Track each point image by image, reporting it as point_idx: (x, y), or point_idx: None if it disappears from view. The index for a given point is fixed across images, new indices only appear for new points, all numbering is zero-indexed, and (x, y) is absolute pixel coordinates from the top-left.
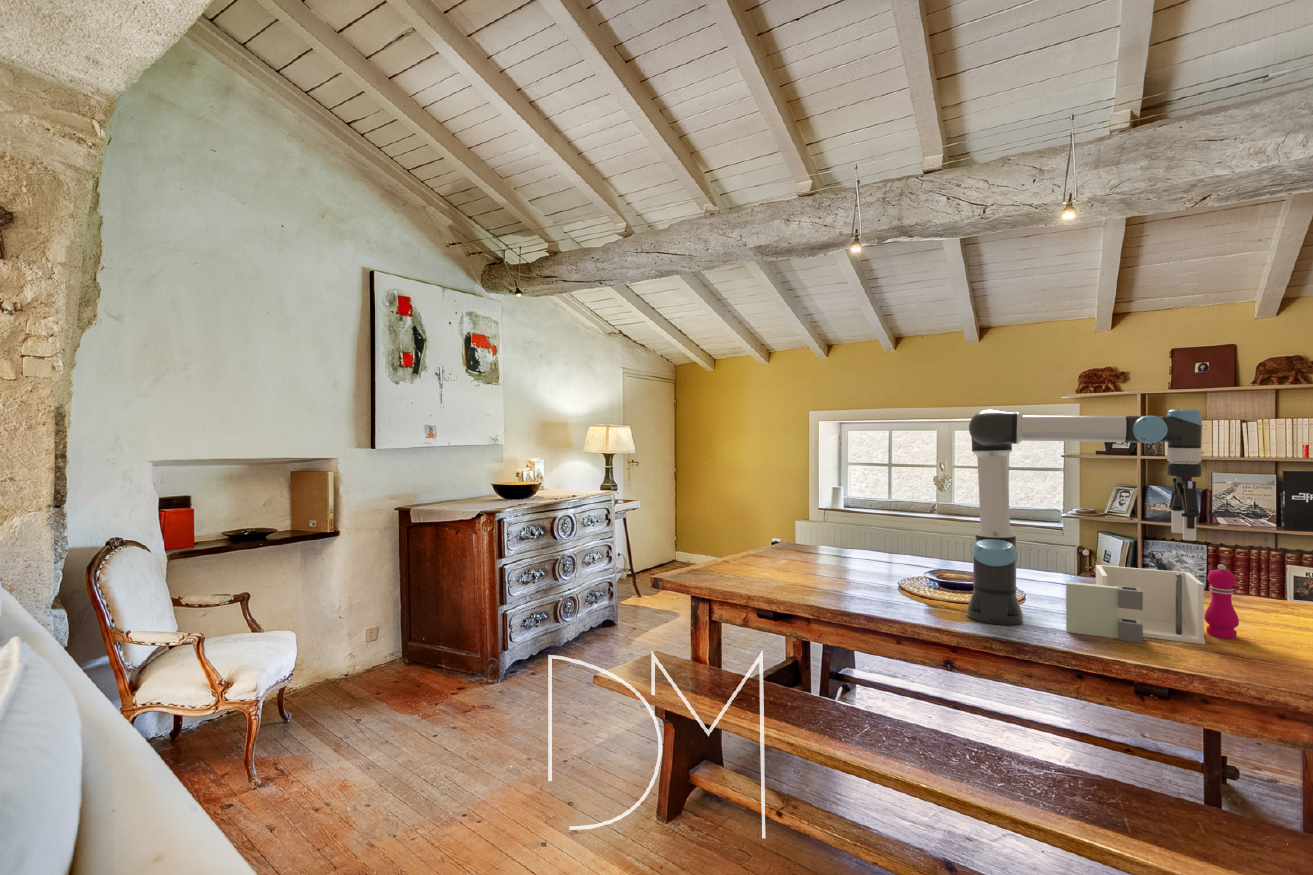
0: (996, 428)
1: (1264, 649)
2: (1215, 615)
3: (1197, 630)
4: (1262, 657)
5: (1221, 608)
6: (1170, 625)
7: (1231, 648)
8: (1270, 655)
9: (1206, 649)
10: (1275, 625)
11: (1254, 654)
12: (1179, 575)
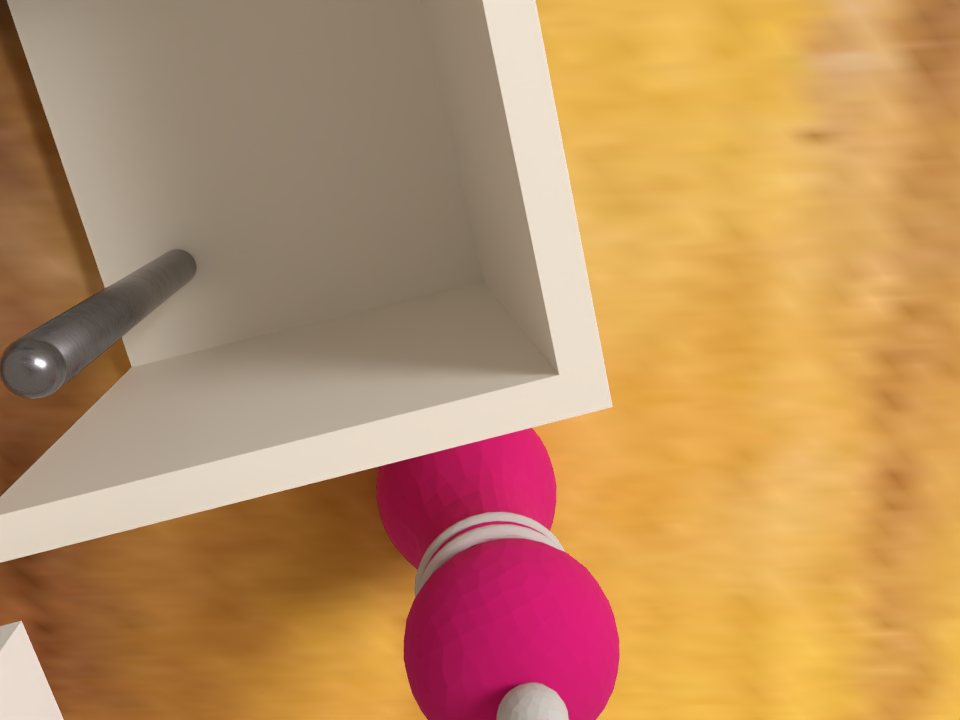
0: None
1: (291, 629)
2: (388, 479)
3: (131, 378)
4: (106, 628)
5: (408, 531)
6: (380, 209)
7: None
8: (182, 654)
9: (39, 403)
10: (878, 650)
11: (138, 597)
12: (2, 378)
